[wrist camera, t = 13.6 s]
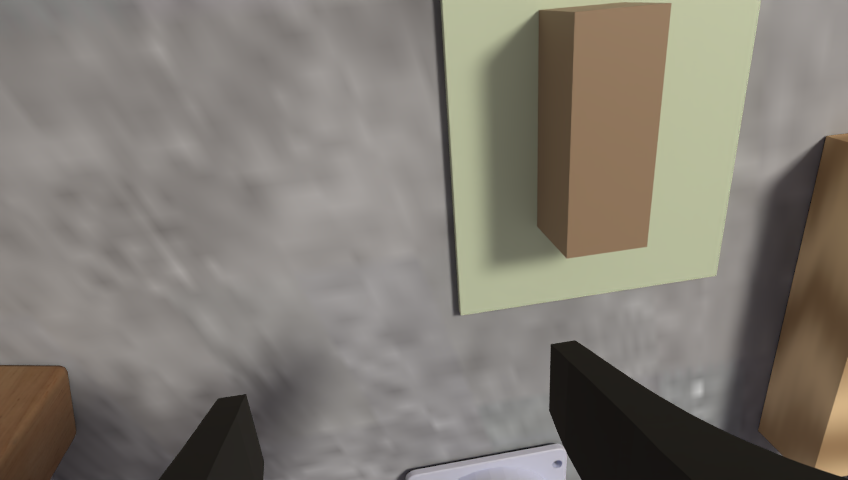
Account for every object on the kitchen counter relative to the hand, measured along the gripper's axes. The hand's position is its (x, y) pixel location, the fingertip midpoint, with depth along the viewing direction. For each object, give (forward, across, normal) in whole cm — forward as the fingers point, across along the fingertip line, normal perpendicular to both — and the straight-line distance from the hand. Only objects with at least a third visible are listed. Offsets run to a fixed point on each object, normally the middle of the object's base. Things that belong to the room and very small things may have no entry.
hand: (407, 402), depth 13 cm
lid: (+10, -9, -4) cm, 14 cm away
